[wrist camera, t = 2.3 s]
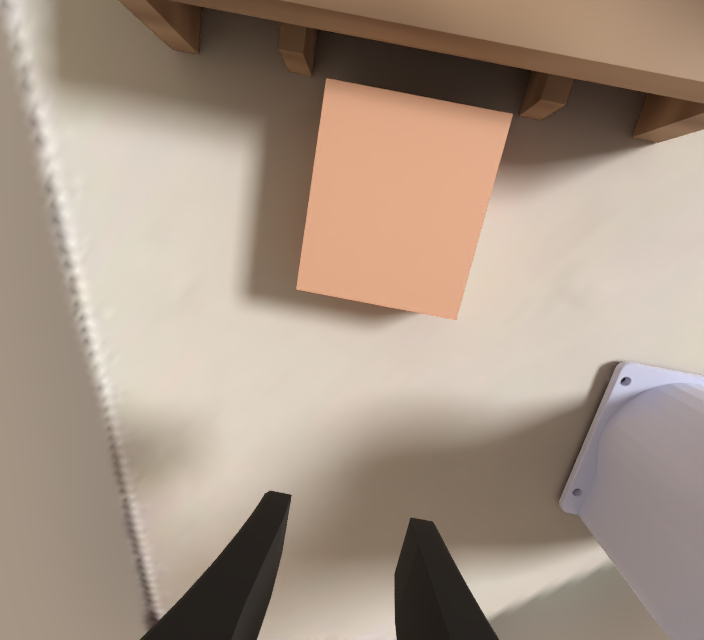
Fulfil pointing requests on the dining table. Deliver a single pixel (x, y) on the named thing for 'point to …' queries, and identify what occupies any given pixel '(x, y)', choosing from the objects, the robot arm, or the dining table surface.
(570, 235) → the dining table surface
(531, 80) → the wooden stand
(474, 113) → the cover
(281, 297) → the dining table surface
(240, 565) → the robot arm
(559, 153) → the dining table surface
